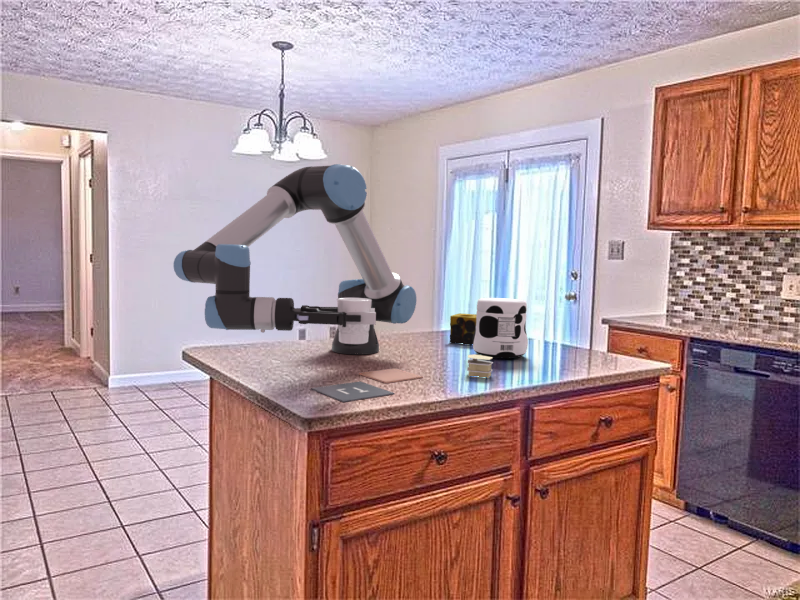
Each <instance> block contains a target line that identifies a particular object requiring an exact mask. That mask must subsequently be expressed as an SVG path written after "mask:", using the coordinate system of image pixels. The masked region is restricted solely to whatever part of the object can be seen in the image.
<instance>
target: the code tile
mask: <svg viewBox="0 0 800 600" xmlns="http://www.w3.org/2000/svg"><path fill="white" fill-rule="evenodd" d="M311 390H312V391H313V392H316V393H319V394H322V395H324V396H327V397H329V398H331V399H334V400H336V401H339V402H340V403H341V402H342V403H348V402H355V401H360V400H367V399H373V398H379V397H384V396H385V397H386V396H390V395H395V392H393V391H389V390H386V389H385V388H381V387H379V386H375V385H372V384H370V383H366V382H363V381H361V380H359V381H354V382H345V383H338V384H333V385H332V384H331V385H323V386H316V387H311Z"/></svg>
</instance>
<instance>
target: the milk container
mask: <svg viewBox="0 0 800 600" xmlns="http://www.w3.org/2000/svg"><path fill="white" fill-rule="evenodd" d="M476 303H477V304H476V328H475V332H474V335H473V345H472V347H473V351H474V352H475V353H476V355H482V356H488V357H493V358H494V359H516V358H520V357H523V356H524V355H525V354H526V352H527V350H528V345H529V339H528V335H527V330H526V323H527V309H528V308H527V301H526V300H524V299H523V300H522V299H518V298H517V299H516V298H506V297H505V298H501V297H486V298H485V297H483V298H478V299H477V302H476ZM493 358H492V359H493Z"/></svg>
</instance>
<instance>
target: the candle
mask: <svg viewBox="0 0 800 600" xmlns="http://www.w3.org/2000/svg"><path fill="white" fill-rule="evenodd" d="M476 314H477V313H476ZM476 314H475V313H456V314H452V315H450V317H449V319H450V322H449V325H450V326H449V327H450V329H449V330H450V334H449V343H450V342H451V343H450V344H455V343H463V344H462V345H465V344H473V335H474V332H475V328H476Z"/></svg>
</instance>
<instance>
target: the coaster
mask: <svg viewBox="0 0 800 600" xmlns="http://www.w3.org/2000/svg"><path fill="white" fill-rule="evenodd" d="M358 375H359V376H363V377H366V378H369V379H371V380H375V381H377V382H381V383H384V384H390V383H397V382H403V381H411V380H417V379H423V377H424V376H422V375H419V374H416V373H412V372H409V371H404V370H402V369H399V368H395V367H394V368H388V369H386V368H385V369H380V370H372V371H365V372H364V371H362V372H358Z"/></svg>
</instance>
